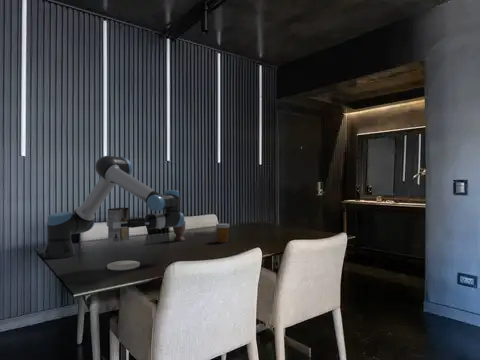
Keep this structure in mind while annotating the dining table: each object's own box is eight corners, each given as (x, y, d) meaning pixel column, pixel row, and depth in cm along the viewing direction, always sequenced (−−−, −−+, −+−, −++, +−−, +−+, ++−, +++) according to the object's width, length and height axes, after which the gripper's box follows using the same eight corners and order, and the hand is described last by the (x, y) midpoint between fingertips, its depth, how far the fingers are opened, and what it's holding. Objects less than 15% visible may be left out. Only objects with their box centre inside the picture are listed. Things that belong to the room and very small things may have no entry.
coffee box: (117, 239, 172) (117, 207, 172) (129, 239, 171) (129, 207, 171) (107, 243, 163) (107, 208, 163) (120, 243, 162) (120, 208, 162)
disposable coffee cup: (231, 240, 238) (231, 223, 238) (227, 243, 229) (227, 225, 229) (218, 240, 241) (218, 222, 241) (213, 242, 232) (213, 224, 232)
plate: (104, 271, 158) (104, 268, 158) (109, 263, 172) (109, 261, 172) (138, 269, 161) (138, 266, 161) (140, 262, 176) (140, 259, 176)
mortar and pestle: (174, 242, 231) (174, 212, 231) (166, 241, 237) (166, 211, 237) (187, 240, 239) (187, 211, 240) (180, 239, 245) (180, 210, 245)
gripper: (163, 231, 168) (116, 235, 155) (146, 226, 186) (103, 229, 174) (163, 215, 168) (116, 218, 155) (146, 212, 186) (103, 214, 174)
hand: (109, 224), depth 164 cm, fingers closed on coffee box, 10 cm apart
